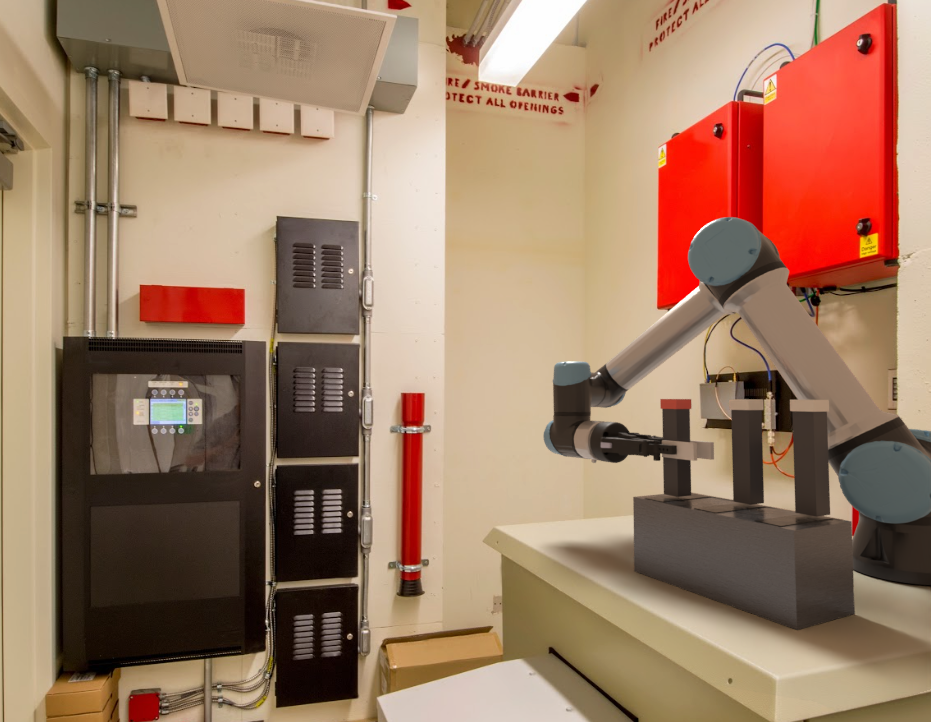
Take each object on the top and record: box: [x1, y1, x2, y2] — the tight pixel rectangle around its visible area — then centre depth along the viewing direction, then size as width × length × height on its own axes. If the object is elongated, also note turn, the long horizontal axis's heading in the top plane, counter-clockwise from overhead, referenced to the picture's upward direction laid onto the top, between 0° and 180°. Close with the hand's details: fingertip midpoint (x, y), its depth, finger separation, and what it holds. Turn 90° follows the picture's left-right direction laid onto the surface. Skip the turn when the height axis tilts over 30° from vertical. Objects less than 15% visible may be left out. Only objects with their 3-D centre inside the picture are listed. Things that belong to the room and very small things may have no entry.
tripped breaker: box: [660, 398, 692, 497], centre depth 99 cm, size 3×3×16 cm
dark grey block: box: [632, 491, 856, 631], centre depth 89 cm, size 28×12×12 cm, turn 28°
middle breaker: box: [728, 398, 765, 505], centre depth 92 cm, size 3×3×16 cm
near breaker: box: [789, 399, 831, 517], centre depth 83 cm, size 3×3×16 cm
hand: (703, 451), depth 94 cm, fingers closed on tripped breaker, 3 cm apart
